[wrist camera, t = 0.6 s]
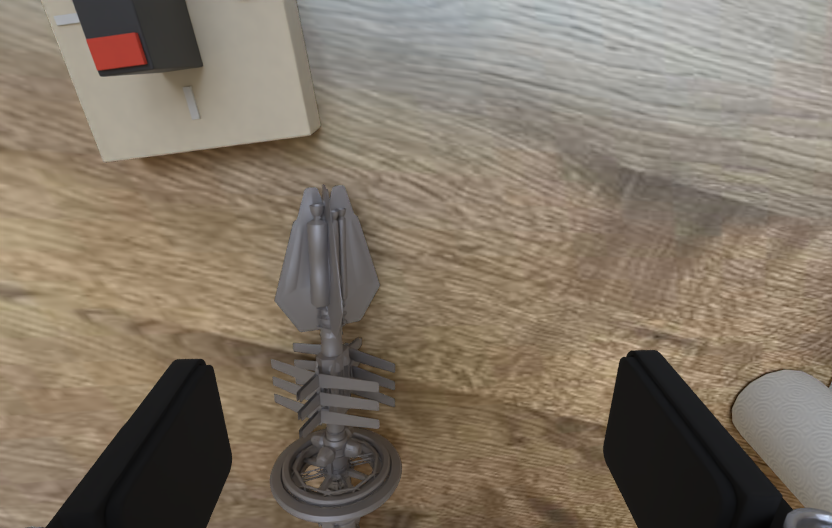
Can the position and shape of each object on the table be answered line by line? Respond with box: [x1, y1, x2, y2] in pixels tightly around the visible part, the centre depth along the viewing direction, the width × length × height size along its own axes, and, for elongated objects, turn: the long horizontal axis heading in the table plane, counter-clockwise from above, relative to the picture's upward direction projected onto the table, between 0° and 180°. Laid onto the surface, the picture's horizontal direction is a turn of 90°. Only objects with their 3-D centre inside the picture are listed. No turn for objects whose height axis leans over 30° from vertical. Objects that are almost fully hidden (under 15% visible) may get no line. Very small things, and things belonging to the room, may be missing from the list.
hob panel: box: [41, 0, 321, 163], centre depth 21 cm, size 12×10×3 cm
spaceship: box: [270, 184, 402, 528], centre depth 29 cm, size 8×35×8 cm
